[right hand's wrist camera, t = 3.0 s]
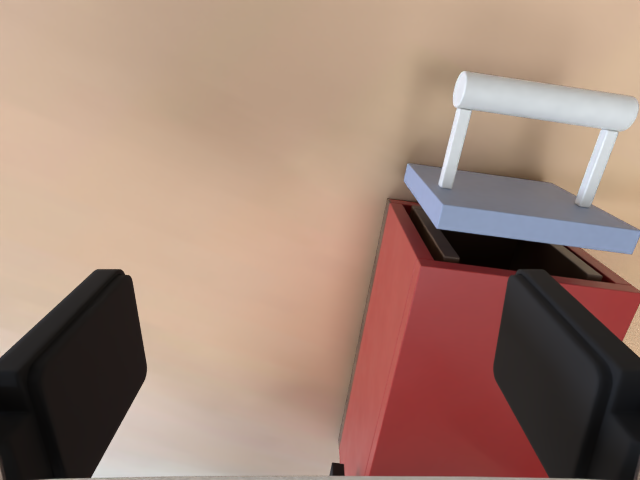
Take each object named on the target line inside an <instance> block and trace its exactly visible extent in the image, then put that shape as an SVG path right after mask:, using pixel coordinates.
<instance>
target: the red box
mask: <svg viewBox="0 0 640 480" xmlns="http://www.w3.org/2000/svg"><path fill="white" fill-rule="evenodd" d="M412 205H415V206H421V205H420V204H419V203H416V202H408V201H401V200H393V199H389V198H387V203H386V208H385V213H384V218H383V223H382V228H381V233H380V238H379V243H378V248H377V253H376V257H375V262H374V267H373V272H372V277H371V282H370V287H369V292H368V297H367V302H366V307H365V312H364V317H363V322H362V327H361V331H360V336H359V341H358V346H357V351H356V356H355V361H354V366H353V371H352V376H351V381H350V386H349V391H348V396H347V401H346V405H345V410H344V415H343V420H342V425H341V430H340V435H339V455H340V464H344V472H345V476H445V477H516V478H549V477H548V475H547V473H546V471H545V469H544V468H543V466H542V464H541V462H540V460H539V458H538V457H537V455H536V453H535V451H534V449H533V448H532V446H531V444H530V442H529V440H528V439H527V437H526V435H525V433H524V431H523V430H522V428H521V426H520V424H519V422H518V420H517V419H516V417H515V415H514V413H513V411H512V410H511V408H510V406H509V404H508V402H507V401H506V399H505V397H504V395H503V393H502V391H501V390H500V388H499V386H498V384H497V382H496V380H495V378H494V373H493V364H494V358H495V352H496V346H497V340H498V334H499V328H500V323H501V317H502V311H503V305H504V299H505V293H506V287H507V282H508V278H509V276H511V275H515V274H516V272H517V271H512V270H504V269H497V268H489V267H481V266H473V265H465V264H457V263H450V262H442V261H434V259H433V257H432V256H431V254H430V252H429V251H428V249H427V247H426V245H425V244H424V242H423V240H422V238H421V237H420V235H419V233H418V231H417V230H416V228H415V226H414V224H413V223H412V221H411V219H410V217H409V215H410V211H411V206H412ZM562 246H564V245H562ZM564 247H565V248H566V249H568V250H569V251H570V252H572V253H573V254H574V255H575V256H577V257H578V258H579V259H581V260H582V261H583V262H585V263H586V264H587V265H589V266H590V267H591V268H592V269H594V270H595V271H596V272H598V273H599V274H600V275H602V280H601V282H598V281H591V280H583V279H575V278H567V277H559V276H552V277H553V278H554V279H555V280H556V281H557V282H558V283H559V284H560V285H561V286H563V287H564V288H565V289H566V290H567V291H568V292H569V293H570V294H571V295H572V296H573V297H574V298H576V299H577V300H578V301H579V302H580V303H581V304H582V305H583V306H584V307H585V308H586V309H587V310H589V311H590V312H591V313H592V314H593V315H594V316H595V317H596V318H597V319H598V320H599V321H600V322H602V323H603V324H604V325H605V326H606V327H607V328H608V329H609V330H610V331H611V332H612V333H613V334H615V335H616V336H617V337H618V338H619V339H620V340H621V341H623V339H624V337H625V334H626V332H627V330H628V328H629V326H630V324H631V321H632V319H633V317H634V315H635V313H636V311H637V308H638V306H639V304H640V291H639V290H638V289H636V288H635V287H634V286H632V285H631V284H629V283H628V282H627V281H625V280H624V279H623V278H621V277H620V276H618V275H617V274H616V273H614V272H613V271H611V270H610V269H609V268H607V267H606V266H605V265H603V264H602V263H600V262H599V261H598V260H596V259H595V258H594V257H592V256H591V255H589V254H588V253H587V252H585V251H584V250H582V249H581V248H579V247H572V246H564Z"/></svg>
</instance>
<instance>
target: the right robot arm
mask: <svg viewBox="0 0 640 480" xmlns="http://www.w3.org/2000/svg"><path fill="white" fill-rule="evenodd" d="M146 373H147V364H146V358H145V352H144V346H143V340H142V334H141V328H140V323H139V317H138V311H137V305H136V299H135V293H134V287H133V282H132V278H131V276H129V275H125V274H124V272H123V271H122V270H121V269H97V270H95V271H94V272H93V273H92V274H90V275H89V276H88V277H87V278H86V279H85V280H84V281H83V282H82V283H81V284H80V285H79V286H77V287H76V288H75V289H74V290H73V291H72V292H71V293H70V294H69V295H68V296H67V297H66V298H64V299H63V300H62V301H61V302H60V303H59V304H58V305H57V306H56V307H55V308H54V309H53V310H51V311H50V312H49V313H48V314H47V315H46V316H45V317H44V318H43V319H42V320H41V321H40V322H38V323H37V324H36V325H35V326H34V327H33V328H32V329H31V330H30V331H29V332H28V333H27V334H25V335H24V336H23V337H22V338H21V339H20V340H19V341H18V342H17V343H16V344H15V345H14V346H12V347H11V348H10V349H9V350H8V351H7V352H6V353H5V354H4V355H3V356H2V357H1V358H0V480H640V358H639V357H638V356H637V355H636V354H635V353H634V352H633V351H632V350H631V349H630V348H629V347H628V346H626V345H625V344H624V343H623V342H622V341H621V340H620V339H619V338H618V337H617V336H616V335H615V334H613V333H612V332H611V331H610V330H609V329H608V328H607V327H606V326H605V325H604V324H603V323H602V322H600V321H599V320H598V319H597V318H596V317H595V316H594V315H593V314H592V313H591V312H590V311H589V310H587V309H586V308H585V307H584V306H583V305H582V304H581V303H580V302H579V301H578V300H577V299H576V298H574V297H573V296H572V295H571V294H570V293H569V292H568V291H567V290H566V289H565V288H564V287H563V286H561V285H560V284H559V283H558V282H557V281H556V280H555V279H554V278H553V277H552V276H551V275H550V274H548V273H547V272H546V271H545V270H543V269H519V270H518V271H517V272H516V274H515V275H511V276H509V278H508V282H507V287H506V293H505V299H504V305H503V311H502V317H501V323H500V328H499V334H498V340H497V346H496V352H495V358H494V364H493V373H494V378H495V380H496V382H497V384H498V386H499V388H500V390H501V391H502V393H503V395H504V397H505V399H506V401H507V402H508V404H509V406H510V408H511V410H512V411H513V413H514V415H515V417H516V419H517V420H518V422H519V424H520V426H521V428H522V430H523V431H524V433H525V435H526V437H527V439H528V440H529V442H530V444H531V446H532V448H533V449H534V451H535V453H536V455H537V457H538V458H539V460H540V462H541V464H542V466H543V468H544V469H545V471H546V473H547V475H548V477H549V478H516V477H445V476H195V477H124V478H91V477H92V475H93V473H94V471H95V469H96V468H97V466H98V464H99V462H100V460H101V458H102V457H103V455H104V453H105V451H106V449H107V448H108V446H109V444H110V442H111V440H112V439H113V437H114V435H115V433H116V431H117V430H118V428H119V426H120V424H121V422H122V420H123V419H124V417H125V415H126V413H127V411H128V410H129V408H130V406H131V404H132V402H133V401H134V399H135V397H136V395H137V393H138V391H139V390H140V388H141V386H142V384H143V382H144V380H145V378H146Z"/></svg>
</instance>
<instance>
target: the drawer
mask: <svg viewBox="0 0 640 480" xmlns="http://www.w3.org/2000/svg"><path fill="white" fill-rule="evenodd" d="M453 105H454V107H456V108H457V110H456V114H455V118H454V122H453V126H452V130H451V134H450V138H449V143H448V147H447V151H446V155H445V159H444V163H443V167H442V168H440V167H433V166H425V165H418V164H411V163H408V164H407V168H406V173H405V178H404V182H405V184H406V185H407V187H408V188H409V189H410V191H411V192H412V194H413V195H414V197H415V198H416V199H417V201H418V202H419V204H420V205H421V206H415V205H412V206H411V211H410V215H409V217H410V219H411V221H412V223H413V224H414V226H415V228H416V230H417V231H418V233H419V235H420V237H421V238H422V240H423V242H424V244H425V245H426V247H427V249H428V251H429V252H430V254H431V256H432V257H433V259H434V261H442V262H450V263H457V264H465V265H473V266H481V267H489V268H497V269H504V270H512V271H518V270H519V269H543V270H545V271H546V272H547V273H548V274H550V275H551V276H559V277H567V278H575V279H583V280H591V281H598V282H601V280H602V275H600V274H599V273H598V272H596V271H595V270H594V269H592V268H591V267H590V266H589V265H587V264H586V263H585V262H583V261H582V260H581V259H579V258H578V257H577V256H575V255H574V254H573V253H572V252H570V251H569V250H568V249H566V248H565V247H564V246H572V247H579V248H587V249H595V250H602V251H610V252H617V253H625V254H632V253H633V251H634V249H635V246H636V244H637V242H638V239H639V237H640V230H639V229H637V228H635V227H633V226H631V225H629V224H628V223H626V222H624V221H622V220H620V219H618V218H616V217H614V216H613V215H611V214H609V213H607V212H605V211H603V210H601V209H599V208H598V207H596V206H594V205H592V201H593V199H594V196H595V193H596V191H597V188H598V186H599V183H600V180H601V178H602V175H603V172H604V170H605V167H606V164H607V162H608V159H609V157H610V154H611V151H612V149H613V146H614V143H615V141H616V138H617V136H618V132H617V131H624V130H626V129H628V128H629V127H630V126H631V125H632V124H633V122H634V121H635V119H636V117H637V114H638V110H639V104H638V101H637V99H636V98H635V97H633V96H627V95H621V94H614V93H607V92H601V91H594V90H588V89H581V88H574V87H568V86H561V85H555V84H548V83H541V82H535V81H528V80H522V79H515V78H508V77H502V76H495V75H488V74H482V73H475V72H469V71H463V72H461V74H460V75H459V77H458V79H457V81H456V84H455V88H454V93H453ZM472 110H476V111H483V112H490V113H497V114H503V115H510V116H517V117H524V118H531V119H538V120H544V121H551V122H558V123H565V124H572V125H578V126H585V127H592V128H599V129H601V131H600V134H599V137H598V139H597V142H596V145H595V148H594V150H593V153H592V156H591V159H590V161H589V164H588V167H587V169H586V172H585V175H584V178H583V180H582V183H581V186H580V189H579V191H578V194H577V196H575V195H573V194H571V193H569V192H568V191H566V190H564V189H562V188H560V187H558V186H556V185H554V184H553V183H548V182H540V181H533V180H526V179H519V178H512V177H505V176H497V175H490V174H483V173H476V172H469V171H461V170H457V167H458V163H459V159H460V155H461V151H462V148H463V144H464V140H465V136H466V132H467V128H468V124H469V120H470V116H471V112H472ZM562 245H564V246H562Z"/></svg>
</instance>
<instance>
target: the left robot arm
mask: <svg viewBox="0 0 640 480" xmlns="http://www.w3.org/2000/svg"><path fill="white" fill-rule="evenodd" d="M330 476H345V472H344V464H340V463H332V466H331V471H330Z"/></svg>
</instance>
